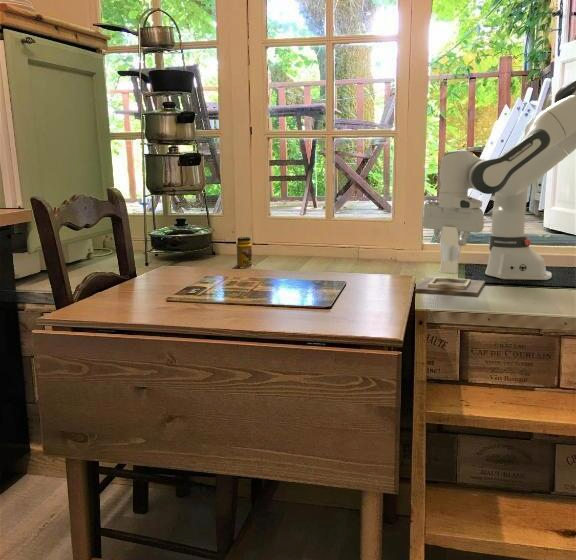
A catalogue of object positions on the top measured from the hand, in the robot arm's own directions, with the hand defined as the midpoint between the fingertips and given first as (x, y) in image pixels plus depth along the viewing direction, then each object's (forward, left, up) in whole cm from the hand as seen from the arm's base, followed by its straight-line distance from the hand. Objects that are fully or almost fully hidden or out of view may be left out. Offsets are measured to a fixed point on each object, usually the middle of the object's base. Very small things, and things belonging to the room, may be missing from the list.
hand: (451, 244), depth 201 cm
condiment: (+85, -16, -15) cm, 88 cm away
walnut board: (0, 0, -15) cm, 15 cm away
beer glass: (0, +1, -9) cm, 9 cm away
